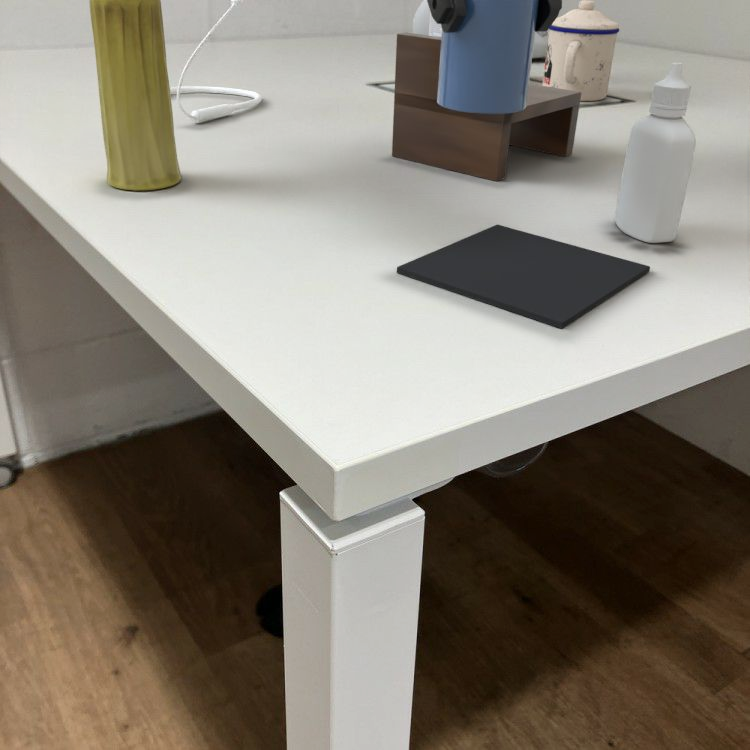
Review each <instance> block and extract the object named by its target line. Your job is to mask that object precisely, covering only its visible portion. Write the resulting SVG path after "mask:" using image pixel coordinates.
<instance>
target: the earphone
mask: <svg viewBox="0 0 750 750" xmlns="http://www.w3.org/2000/svg"><path fill="white" fill-rule="evenodd" d="M229 1H230V7H228V9H227V10H226V12H224V14H223V15H222V16H221V17H220V18H219V20H218V21H217V22H216V23H215V25H213V27H212V28H210V30H209V31H208V33H207V34H206V35H205V36H204V38H203V39H202V40H201V42H200V43H199V44H198V45H197V47H196V48H195V50H194V51H193V52H192V54H191V55H190V57H189V58H188V60H187V62H186V64H185V66H184V68H183V70H182V72H181V75H180V77H179V80H178V83H177V86H169V87H170V95H172V94H176V102H177V107H178V108H179V110H180V112H181V113H182V114H183V115H184V116H186V117H187V118H189V119H191V121H192V122H193V123H194V124H199V123H203V122H208V121H210V120H215V119H220V118H224V117H228V116H230V115H231V114H232V113H234V112H236V111H240V110H245V109H249V108H252V107H254V106H257V105H258V104H260V103H261V102H262V100H263V99H262V95H261V94H260V93H258V92H256V91H252V90H247V89H240V88H234V87H233V88H231V87H223V86H221V87H220V86H219V87H218V86H206V85H205V86H204V85H203V86H202V85H188V86H187V85H184V86H183V85H182V84H183V81H184V78H185V75H186V73H187V71H188V69H189V67H190V65H191V63H192V61H193V60H194V59H195V57H196V55H197V54H198V53H199V51H200V50H201V48H202V47H203V46H204V45H205V43H206V42H207V41H208V40H209V38H210V37H211V36H212V35H213V33H214V32H215V31H216V30H217V28H218V27H219V26H220V25H221V24H222V23H223V21H224V20H225V19H226V18H227V17H228V15H229V14H230V13H231V12H232V11H233V10H234V8H238V7H239V6H240V5H241V4H242V3H243V2H244V0H229ZM182 93H210V94H212V93H213V94H226V95H235V96H243V97H248V98H252V99H250V100H246V101H243V102H237V103H234V104H230V103H222V104H218V105H212V106H209V107H204V108H199V109H194V110H192V111H191V112H190V113H188V112H187V111H186V110H185V109H184V108H183V106H182V103H181V94H182Z"/></svg>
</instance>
